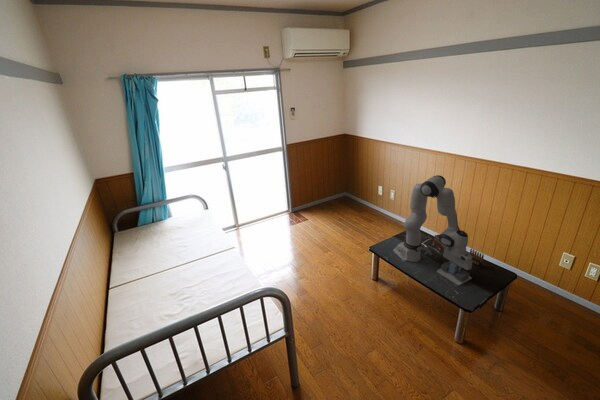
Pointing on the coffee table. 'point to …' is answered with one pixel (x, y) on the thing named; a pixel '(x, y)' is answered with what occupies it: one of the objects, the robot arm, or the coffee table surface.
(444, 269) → the board
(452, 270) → the block
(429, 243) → the coffee table surface
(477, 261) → the ammunition clip
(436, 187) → the robot arm
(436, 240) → the medicine box
